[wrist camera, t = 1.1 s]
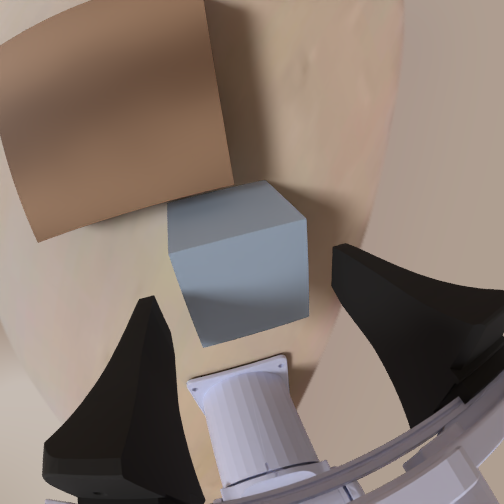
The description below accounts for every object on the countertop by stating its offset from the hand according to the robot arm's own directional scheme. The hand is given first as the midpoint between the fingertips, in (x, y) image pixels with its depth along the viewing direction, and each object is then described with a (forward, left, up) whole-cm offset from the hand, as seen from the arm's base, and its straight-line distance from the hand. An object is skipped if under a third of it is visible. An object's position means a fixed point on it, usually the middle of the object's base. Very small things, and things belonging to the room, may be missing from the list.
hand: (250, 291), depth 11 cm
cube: (0, 0, -5) cm, 5 cm away
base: (+8, +4, -6) cm, 10 cm away
